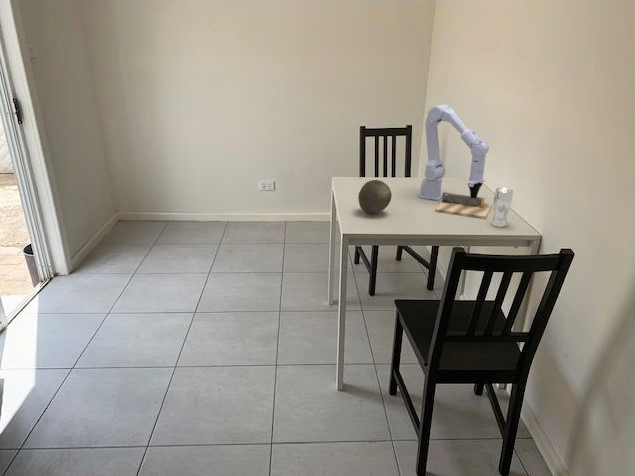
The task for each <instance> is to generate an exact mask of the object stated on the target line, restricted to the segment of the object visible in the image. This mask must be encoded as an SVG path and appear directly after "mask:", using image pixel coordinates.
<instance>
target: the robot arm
mask: <svg viewBox="0 0 635 476" xmlns="http://www.w3.org/2000/svg"><path fill="white" fill-rule="evenodd" d="M427 113H428V114H427V118H426V120H425V122H424V123H425V125H424V126H425V136H426V149H427V159H428V160H427V163H426V165H425V171H424V177H425V178H422V179H421V183H420V193H419V198H420V199H427V200H433V201H434V200H435V201H440V199H442V197H443V194H441V192H442V183H443V176H444V175H445V174H446V168H445V167H444V162H443V161H442V160H441V157H440V155H441V153H440V143H439V130H438V129H439V128H438V126H439V125H440V123H442V122H447V123H449V124H451V126H452V127H453V128H454V129H456V131H457V132H458V133H459V134H460V139H461V140H462V142H464V143H465V145H466V146H467V147H468V148H469V150H470V154H471V156H472V157H471V164H470V171H469V172H470V173H469V178H468V183H467V186H468V190H469V196H473V197H478V194H479V192H480V189H481V187H482V186H483V183H484V182H486V179H484V171H485V165H486V158H487V153H488V152H489V150H490V148H489V147H490V146H489V145H488V142H486V141H484V140H483V139H482V138H480V137H479V136H478V135H477V134H476V132H477V131H475V130H472V129H469V128H467V127H466V125H465V124H464V123H463V122H462V121H461V119H460V118H459V116H458V115H457V114H456V112H455V111H454V109H453V108H452V107H451V106H450V105H449V104H447V103H443V104H439V105H433V106H432V107H431V108H430V109H429V110H428V111H427Z"/></svg>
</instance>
